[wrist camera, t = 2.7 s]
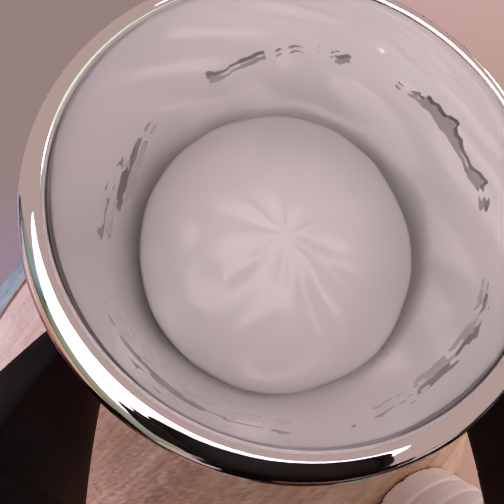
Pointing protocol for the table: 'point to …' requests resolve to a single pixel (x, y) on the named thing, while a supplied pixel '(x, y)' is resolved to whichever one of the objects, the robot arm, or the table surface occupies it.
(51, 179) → the silver metal tumbler
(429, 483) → the water bottle
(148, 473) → the table surface
